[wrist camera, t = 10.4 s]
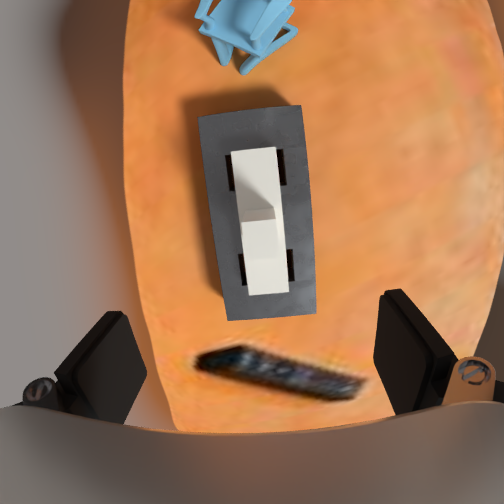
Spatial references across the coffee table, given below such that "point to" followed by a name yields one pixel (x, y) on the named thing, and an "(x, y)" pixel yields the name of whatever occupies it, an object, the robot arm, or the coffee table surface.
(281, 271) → the white stepped block
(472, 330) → the coffee table surface
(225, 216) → the slotted plate
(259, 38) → the chair
